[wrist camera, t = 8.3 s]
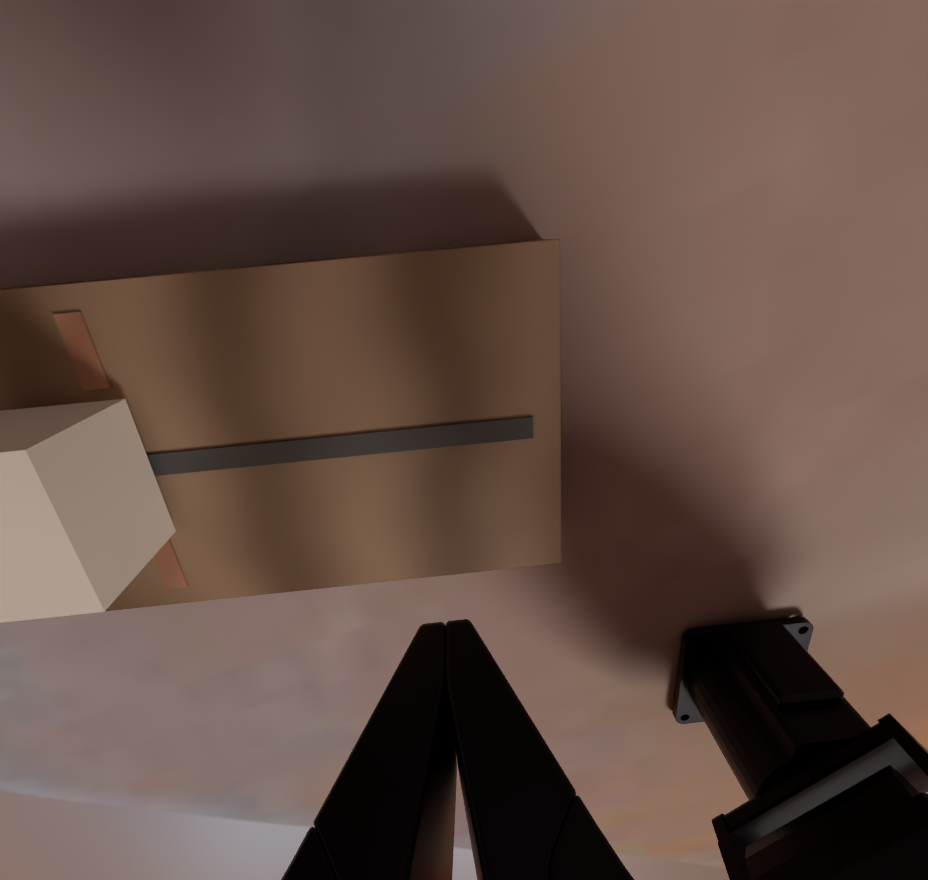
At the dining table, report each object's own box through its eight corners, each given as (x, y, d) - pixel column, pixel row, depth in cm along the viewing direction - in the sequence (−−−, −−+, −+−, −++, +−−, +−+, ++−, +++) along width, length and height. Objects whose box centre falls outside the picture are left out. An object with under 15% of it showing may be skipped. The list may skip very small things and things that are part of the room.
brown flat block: (542, 239, 17) (560, 239, 14) (547, 528, 21) (561, 564, 19) (-38, 292, 16) (-119, 301, 14) (97, 575, 21) (54, 618, 19)
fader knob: (125, 398, 15) (25, 450, 11) (176, 531, 17) (104, 611, 13) (-3, 410, 15) (-145, 466, 11) (62, 542, 17) (-41, 627, 13)
